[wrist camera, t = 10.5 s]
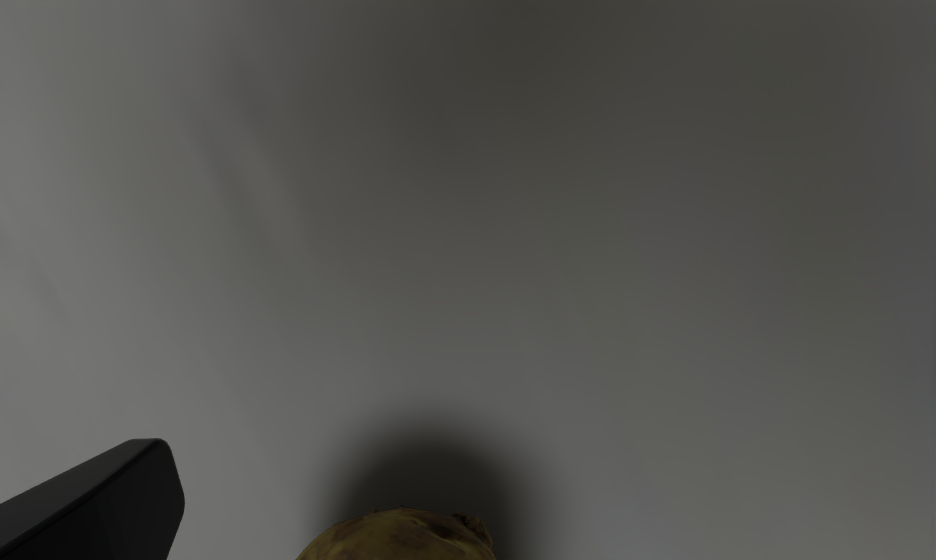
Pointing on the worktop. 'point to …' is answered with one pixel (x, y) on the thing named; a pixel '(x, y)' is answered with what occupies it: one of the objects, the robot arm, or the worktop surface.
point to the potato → (403, 538)
